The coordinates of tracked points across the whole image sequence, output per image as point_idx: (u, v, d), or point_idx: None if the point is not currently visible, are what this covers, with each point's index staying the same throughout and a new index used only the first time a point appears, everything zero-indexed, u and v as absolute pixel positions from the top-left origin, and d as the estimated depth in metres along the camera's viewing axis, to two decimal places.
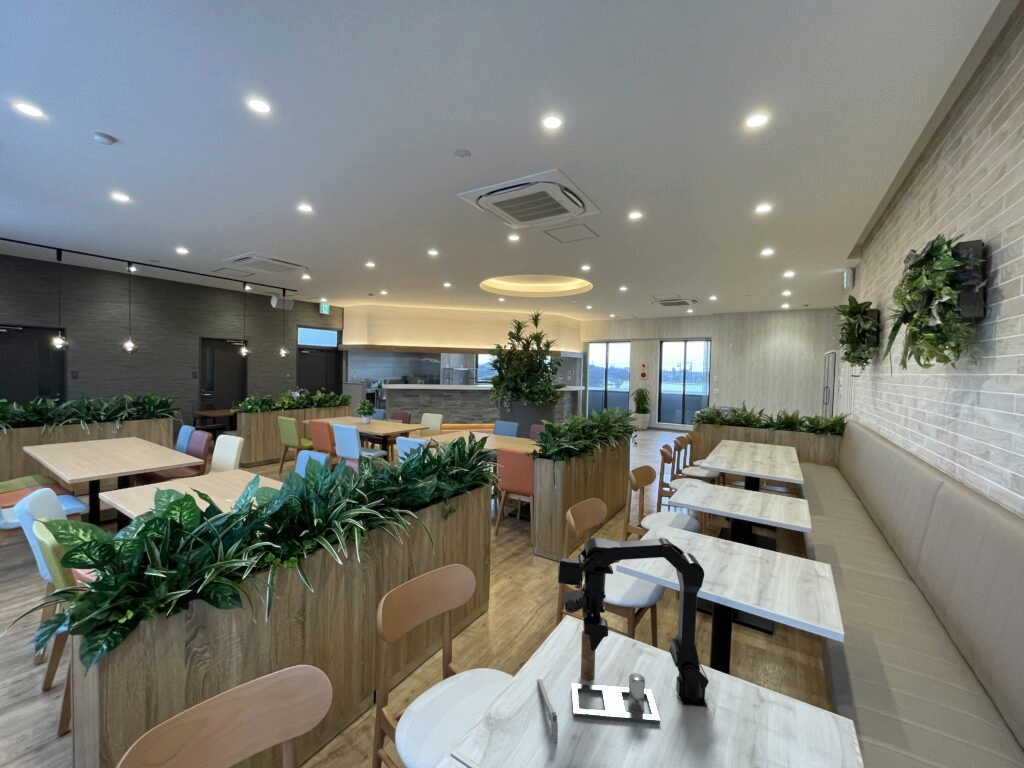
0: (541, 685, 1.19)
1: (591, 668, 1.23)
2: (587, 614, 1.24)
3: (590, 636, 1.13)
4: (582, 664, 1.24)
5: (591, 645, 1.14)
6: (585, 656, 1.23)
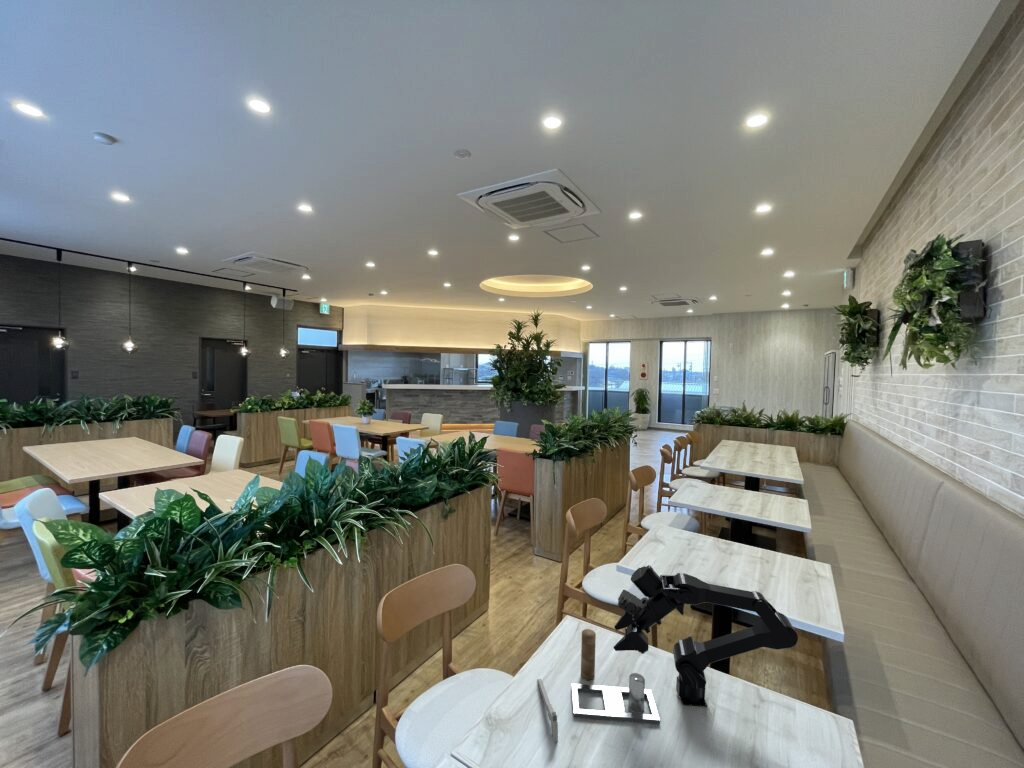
0: (541, 685, 1.19)
1: (591, 668, 1.23)
2: (623, 618, 1.26)
3: (625, 640, 1.15)
4: (582, 664, 1.24)
5: (617, 645, 1.17)
6: (585, 656, 1.23)
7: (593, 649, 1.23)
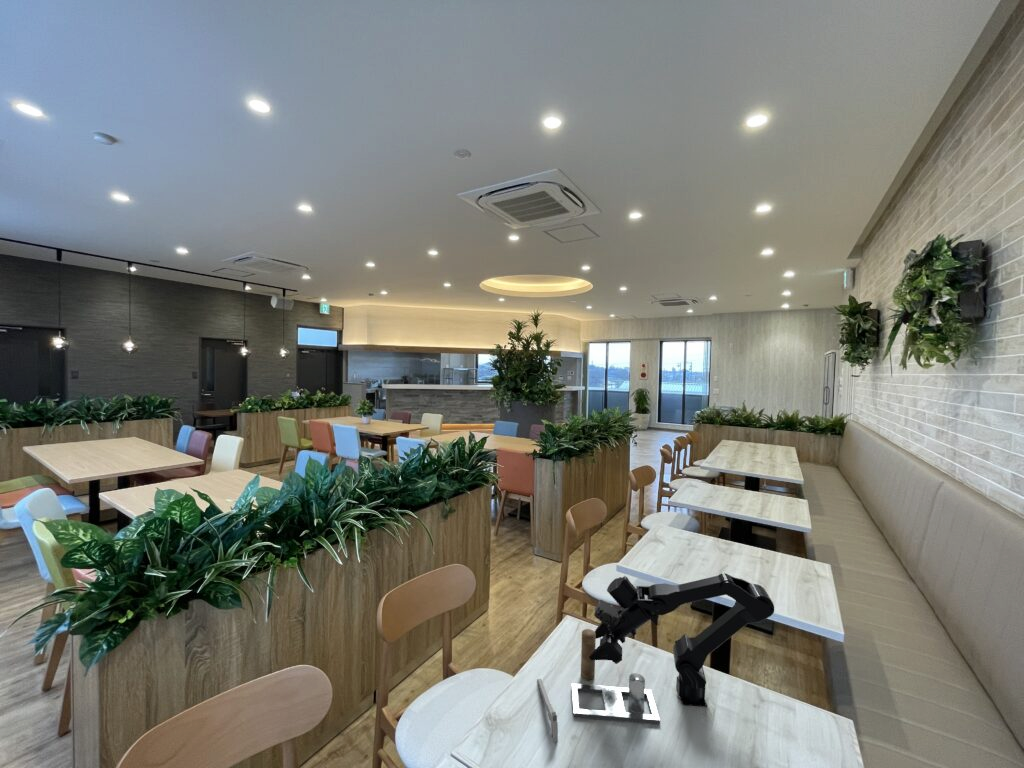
0: (541, 685, 1.19)
1: (591, 668, 1.23)
2: (600, 627, 1.28)
3: (600, 649, 1.17)
4: (582, 664, 1.24)
5: (593, 655, 1.19)
6: (585, 656, 1.23)
7: (593, 649, 1.23)
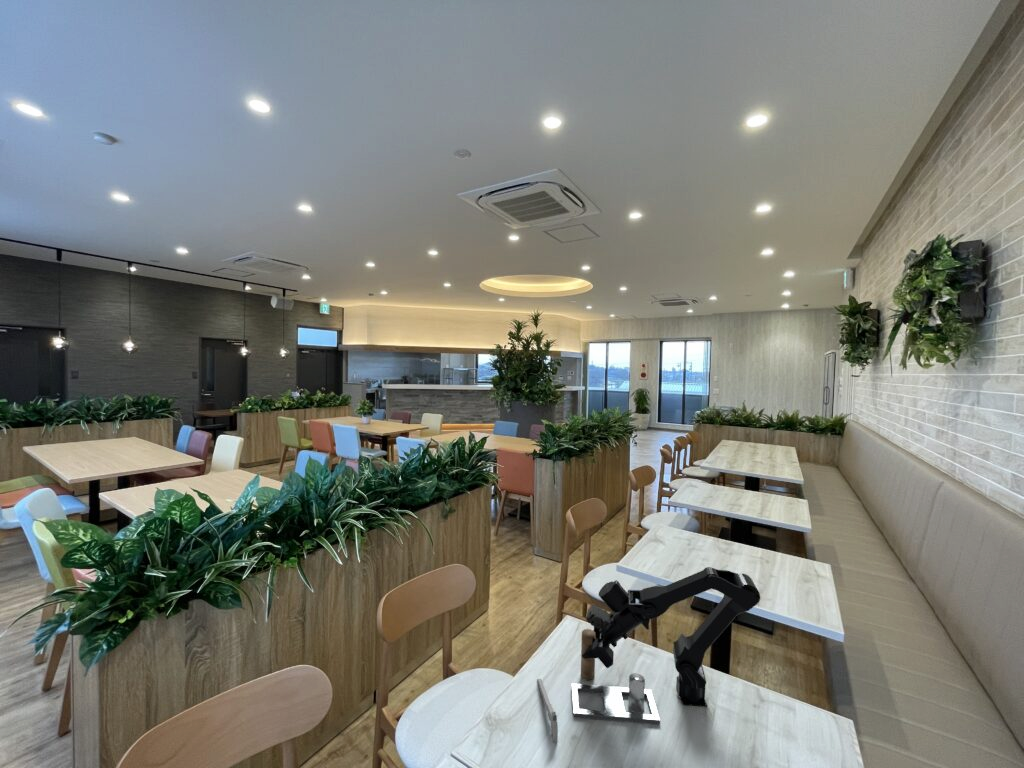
0: (541, 685, 1.19)
1: (591, 668, 1.23)
2: None
3: (592, 648, 1.20)
4: (582, 664, 1.24)
5: (585, 653, 1.22)
6: None
7: None
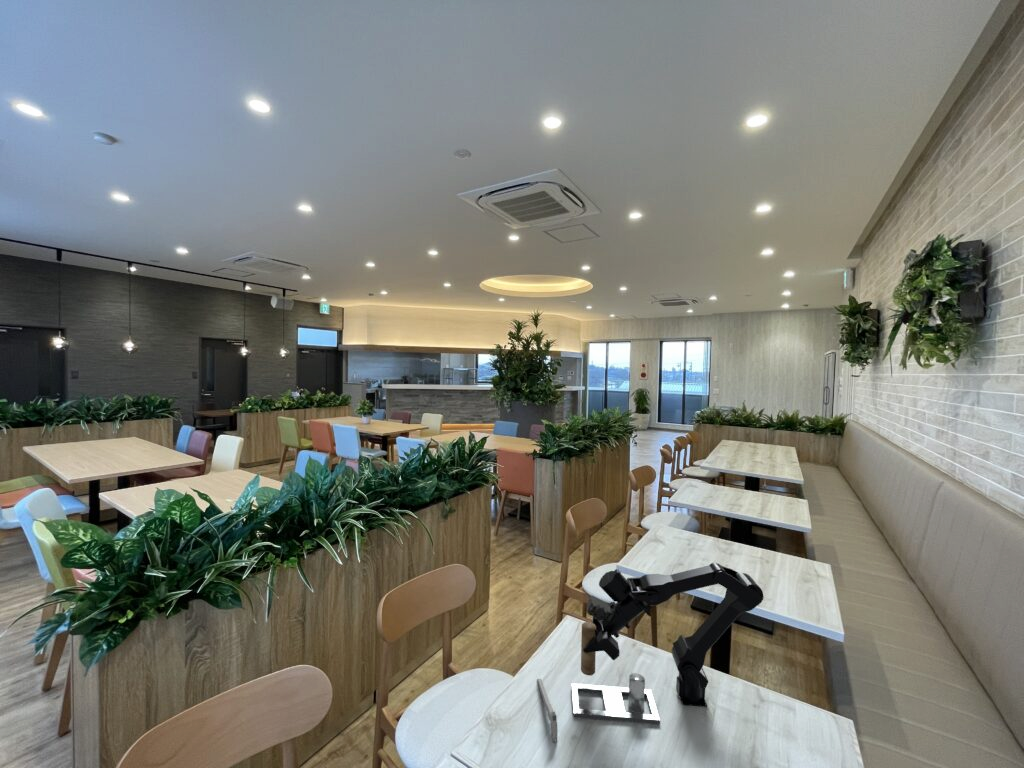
0: (541, 685, 1.19)
1: (592, 662, 1.18)
2: None
3: (594, 641, 1.16)
4: (583, 659, 1.19)
5: (587, 647, 1.17)
6: None
7: None
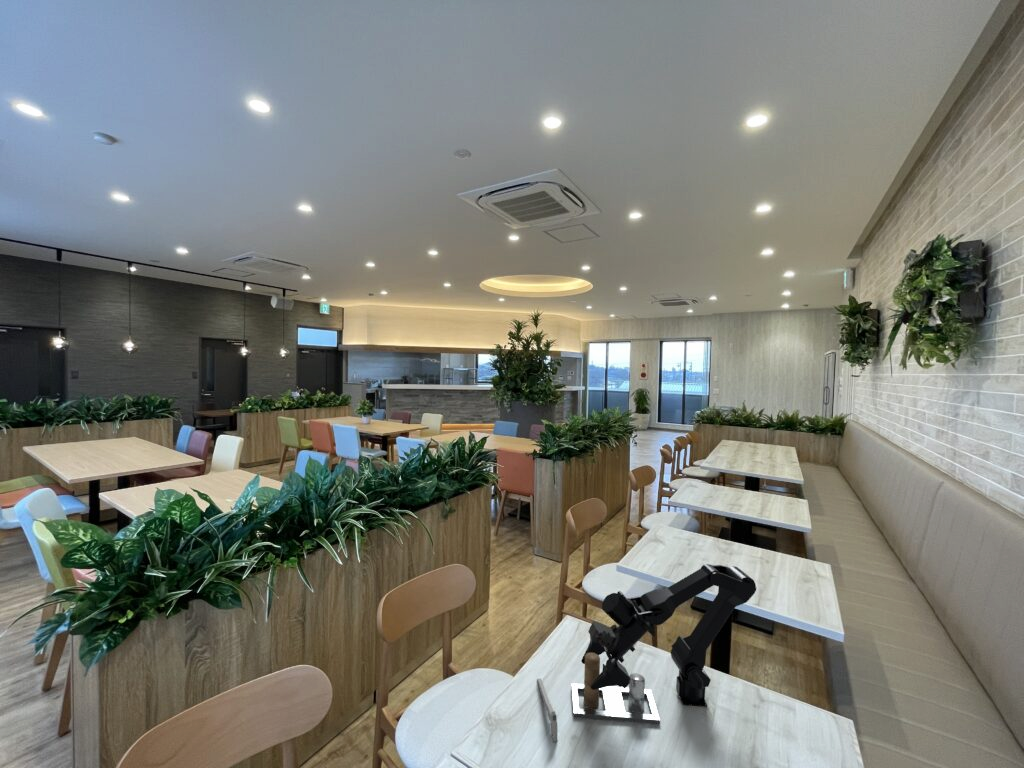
0: (541, 685, 1.19)
1: (597, 695, 1.13)
2: (590, 649, 1.19)
3: (604, 677, 1.08)
4: (587, 693, 1.13)
5: (595, 684, 1.09)
6: (591, 683, 1.13)
7: (599, 674, 1.13)
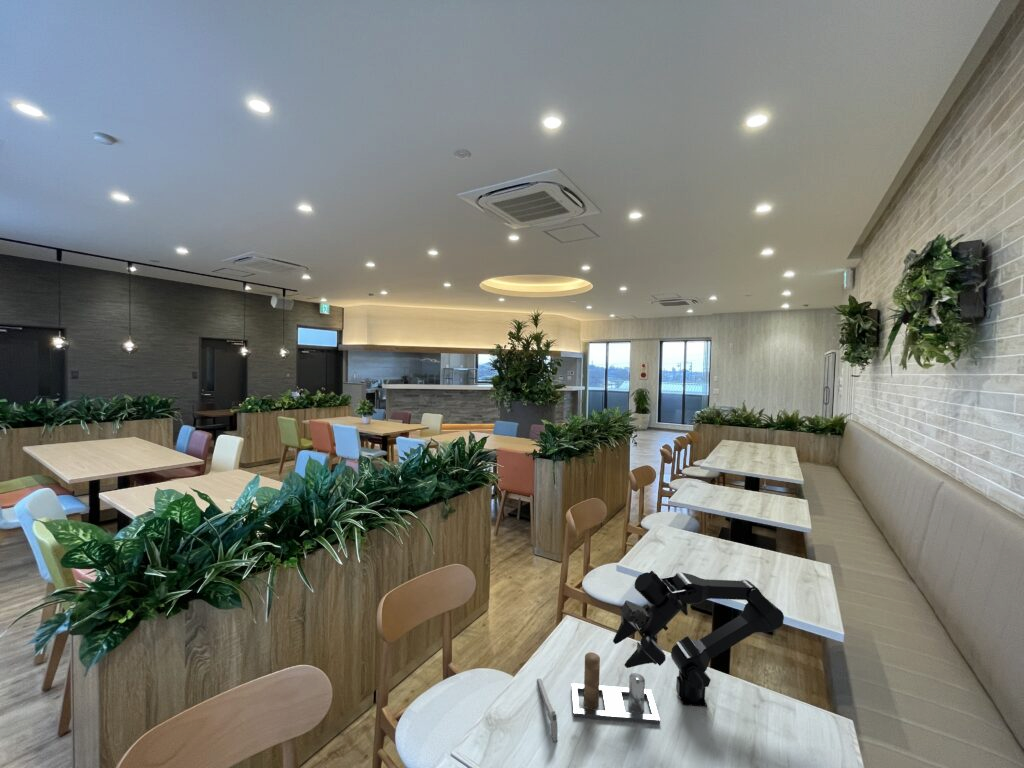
0: (541, 684, 1.19)
1: (597, 695, 1.13)
2: (621, 629, 1.20)
3: (638, 654, 1.08)
4: (587, 693, 1.13)
5: (630, 662, 1.09)
6: (591, 683, 1.13)
7: (598, 673, 1.13)
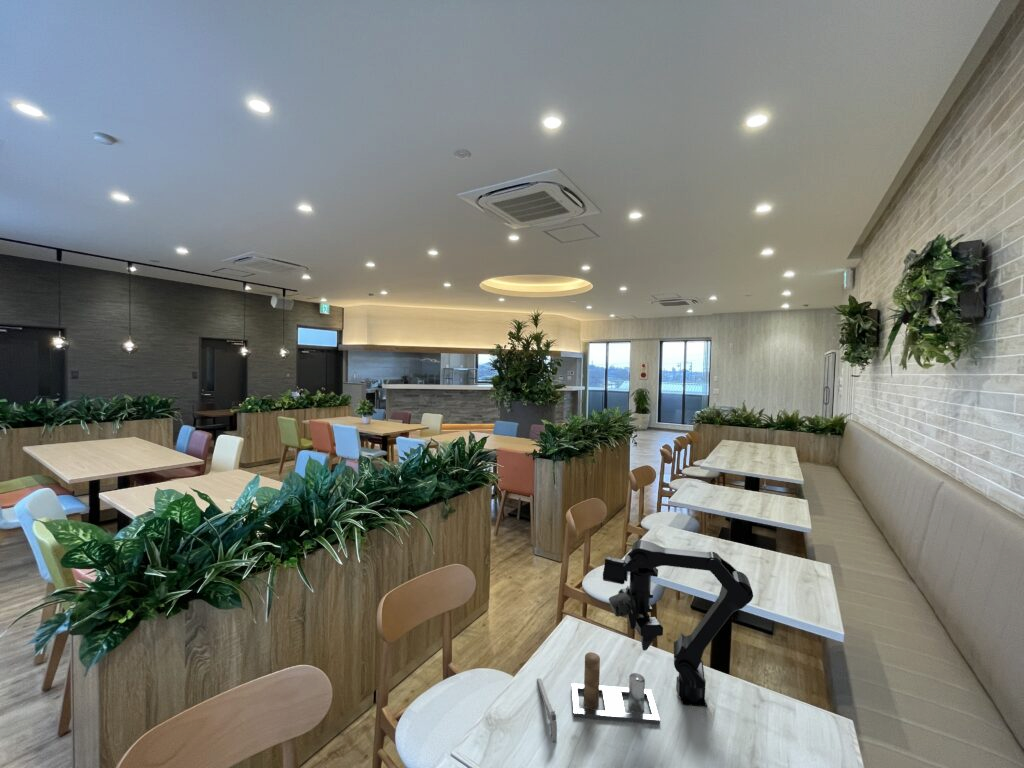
0: (540, 684, 1.19)
1: (597, 695, 1.13)
2: (629, 615, 1.26)
3: (643, 637, 1.15)
4: (587, 693, 1.13)
5: (643, 645, 1.16)
6: (591, 683, 1.13)
7: (599, 673, 1.13)
